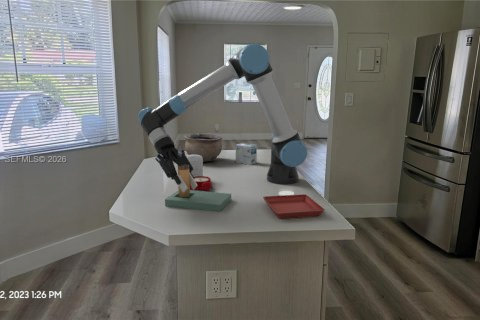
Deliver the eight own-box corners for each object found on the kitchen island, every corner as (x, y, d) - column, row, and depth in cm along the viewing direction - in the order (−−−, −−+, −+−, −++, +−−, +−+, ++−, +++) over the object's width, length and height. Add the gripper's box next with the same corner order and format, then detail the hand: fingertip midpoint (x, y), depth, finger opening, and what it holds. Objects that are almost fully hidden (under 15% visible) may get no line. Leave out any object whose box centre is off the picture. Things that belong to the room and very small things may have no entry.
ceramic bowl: (202, 155, 234) (202, 131, 230) (230, 160, 221) (230, 135, 218) (177, 161, 216) (176, 136, 213) (205, 166, 204) (205, 139, 200)
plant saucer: (325, 218, 130) (325, 209, 130) (276, 221, 127) (276, 212, 126) (305, 201, 148) (306, 194, 147) (262, 204, 144) (262, 196, 143)
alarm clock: (211, 175, 171) (212, 177, 156) (212, 189, 171) (212, 191, 156) (189, 176, 170) (187, 177, 155) (189, 189, 170) (187, 192, 155)
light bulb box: (256, 163, 214) (257, 144, 212) (251, 165, 209) (251, 146, 206) (241, 160, 220) (241, 142, 217) (235, 162, 214) (235, 144, 212)
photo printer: (200, 177, 181) (199, 152, 178) (204, 179, 178) (204, 154, 175) (180, 180, 175) (180, 155, 173) (184, 182, 172) (184, 156, 169)
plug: (191, 194, 147) (191, 164, 144) (187, 197, 143) (186, 167, 140) (181, 193, 148) (180, 164, 145) (176, 196, 144) (175, 166, 141)
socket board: (231, 199, 148) (231, 193, 148) (220, 211, 135) (220, 204, 134) (180, 194, 154) (180, 189, 153) (165, 205, 141) (164, 199, 140)
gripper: (174, 144, 158) (202, 189, 151) (140, 150, 145) (168, 199, 138) (182, 133, 153) (211, 179, 147) (147, 138, 140) (177, 188, 134)
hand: (190, 188), depth 142 cm, fingers closed on plug, 4 cm apart
